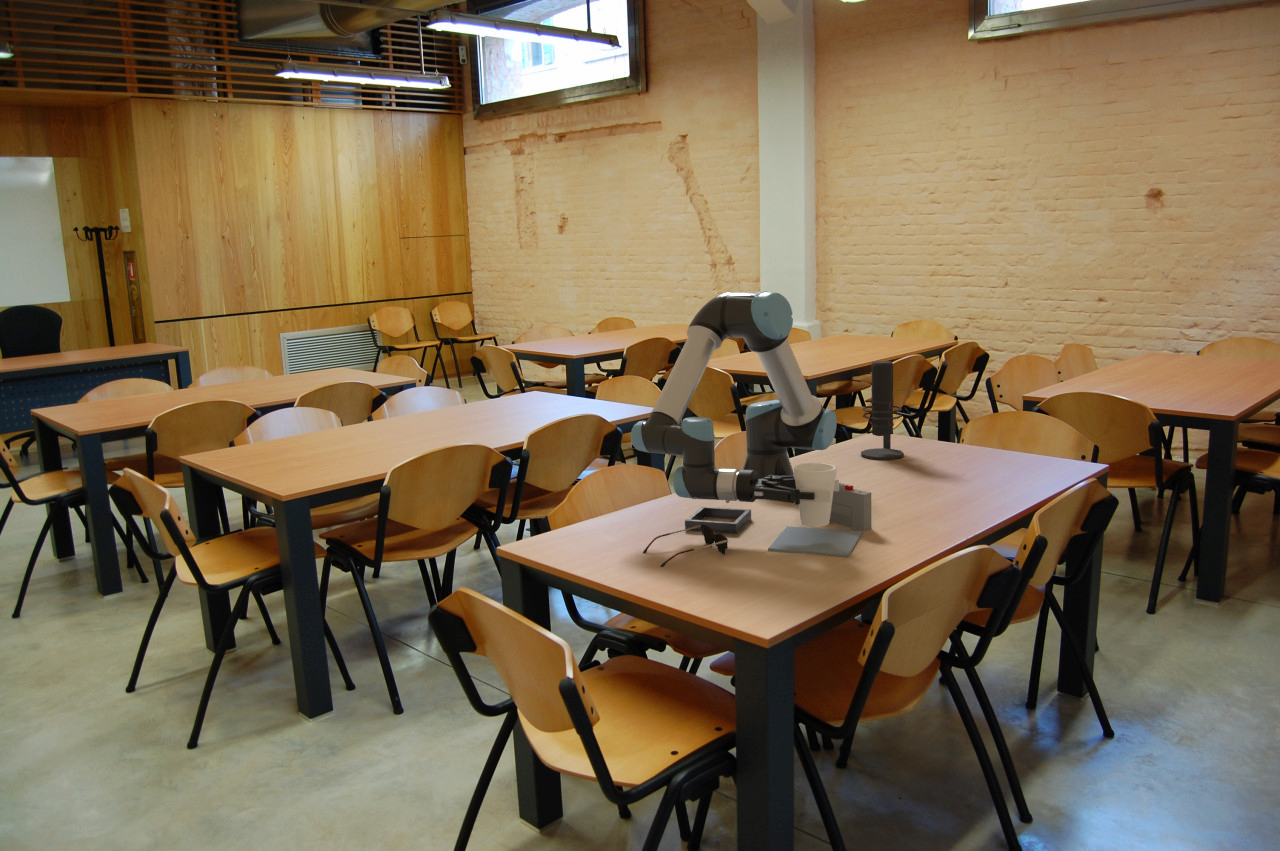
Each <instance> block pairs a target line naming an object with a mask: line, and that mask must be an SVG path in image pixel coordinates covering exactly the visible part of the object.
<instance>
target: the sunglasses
mask: <svg viewBox="0 0 1280 851" xmlns="http://www.w3.org/2000/svg"><path fill="white" fill-rule="evenodd" d="M699 527H701V530H702V531H701V535H702V536H703V538H704V543H705V544H706V545H703V546H698V547H696V548H691V549H686V550H681V551H680V552H677V553H675V554H674V555H673V556H671V557H670V558H668V559H667V560H666V561H664V562H663V563H661V564H660V565H659V567H660V568H663V567H664V566H666V564H667V563H668V562H669V561H671V560H672V559H674V558H676V557H677V556H678V555H681V554H684V553H688V552H689V553H690V552H694V551H697V550H701V549H705V548H708V547H711V548H712V547H713V546H715V547H716V549H717V551H718V552H719V553H720V554H721V555H723V556H726V555H727V549H728V548H729V547H728V543H729V539H728V537H726V536H725V534H723V533H715V532H713V531H712V529H711V528H710V527H709V526H707V525H705V524H700V525H699V526H695V527H692V528H688V529H685V528H684V529H681V530H680V529H679V530H677V531H673V532H668V533H663V534H661V535H657V536H656V537H654V538H653V539H652V540H651V541H650V543H649V544H648V545H647V546H646V548H644V549H643V552H642V554H646V553H647V552H648V549H649V548H650V546H651V545H652V544H653V543H654V542H655V541H656V540H657V539H660V538H663V537H667V536H669V535H674V534H679V533H682V532H686V531H688V530H690V529H695V528H699Z"/></svg>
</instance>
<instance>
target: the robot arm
mask: <svg viewBox="0 0 1280 851" xmlns="http://www.w3.org/2000/svg"><path fill="white" fill-rule="evenodd" d="M792 315H793V309H792V306H791V304H790V302H789V301H788V299H787V297H785V296H784V295H782V294H781V293H779V292H774V291H764V290H763V291H759V292H757V291H749V292H748V291H745V292H743V291H740V292H738V291H737V292H736V291H735V292H734V291H728V292H723V293H721V294H718V295H716V296H715V297H713V298H711V299H710V300H709V301H708V302H707V303H705V305H703V306H702V307H701V308H700V310H699V311H698V312H697V313H696V314H695V316H694V317H693V318H692V320H691V321H690V324H689V326H688V327H687V329H686V335H687V339H686V341H685V342H684V345H683V347H682V349H681V350H680V352H679V355H678V357H677V359H676V361H675V363H674V366H673V368H672V370H671V371H670V373H669V376H668V377H667V380H666V382H665V384H664V386H663V388H662V390H661V392H660V393H659V396H658V399H657V400H656V402H655V404H654V406H653V408H652V410H651V413H650V414H649V417H648V418H647V420H639V421H637V422H636V423H635V424H633V427H632V428H631V432H630V439H631V444H632V445H633V447H634V448H635V449H636V450H637V451H640V452H644V453H648V454H653V453H654V454H663V455H670V456H677V457H679V456H680V457H682V460H683V461H682V466H679V467H677V468H676V469H675V472H674V474H673V483H672V484H673V490H674V493H675V494H676V495H677V497H679V498H685V499H692V500H711V501H712V500H713V501H725V503H730V502H731V501H732V502H737V501H739V502H741V503H743V502H744V503H754V502H755V501H756V500H767V501H774V502H775V501H776V502H781V503H782V502H783V503H788V504H794V505H799V504H800V499H801V501H813V502H829V503H830V490H824V489H806V488H801V492H800V490H798V489H796V483H795V478H794V468H793V467H792V463H791V462H790V458H789V454H788V448H794V449H801V450H807V451H808V450H809V451H824V450H827V449H828V448H829V447H830V446H831V445H832V444H833V441H834V439H835V436H836V433H837V432H836V430H837V423H838V422H837V421H838V420H837V415H836V412H835V411H834V410H833V409H830V408H824V406H823V404H822V402H821V400H820V399H819V398H818V397H817V396H815V395H812V392H811V391H810V388H809V386H808V384H807V381H806V379H805V377H804V374H803V372H802V370H801V368H800V365H799V363H798V359H797V358H796V355H795V353H794V352H793V349H792V346H791V344H790V342H789V340H788V338H789V337H790V334H791V331H792V328H793V325H794V323H793V322H794V317H792ZM729 338H738V339H743V340H744V342H745V344H746V346H747V348H748V349H749V350H750V351H751V352H753V353H756V354H757V356H758V357H759V360H760V362H761V364H762V367H763V369H764V371H765V373H766V375H767V377H768V379H769V383H770V384H771V386H772V388H773V390H774V392H775V394H776V397H777V399H773V400H764V401H758V402H754V403H751V404H749V405H748V406H747V407H746V410H745V420H744V421H745V434H746V435H745V436H746V437H745V438H746V456H745V460H744V463H743V466H742V469H740V470H739V469H738V468H718V467H717V468H716V464H715V461H716V459H715V458H716V457H715V456H716V455H715V454H716V453H715V437H716V435H715V430H714V422H713V420H712V419H711V418H709V417H708V416H707V417H705V416H692V417H691V416H689V417H685V418H683V417H684V414H685V413H686V410H687V409H688V406H689V404H690V402H691V400H692V397H693V396H694V394H695V392H696V389H697V387H698V385H699V383H700V382H701V379H702V378H703V375H704V373H705V371H706V369H707V366H708V364H709V363H710V360H711V357H712V356H713V354H714V351H716V350H718V349H720V348H721V346H722V344H723V342H724V341H725V340H727V339H729ZM682 419H683V420H682ZM680 423H681V424H680ZM839 483H840V479H839V478H835V484H834V491H839Z"/></svg>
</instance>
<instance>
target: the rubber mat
mask: <svg viewBox="0 0 1280 851" xmlns="http://www.w3.org/2000/svg"><path fill="white" fill-rule="evenodd" d="M862 535H863V531H861V530H849V529H833V528H819V527H806V526H805V527H803V526H789V525H788V526H786V527H785V528H784V529H783V531H781V532H780V533H779V535H778V536H777V537H776V539H775V540H774V541H773V542H772V543H771V544H770V545H769V547H768V548H767V551H768V552H778V553H779V552H780V553H781V552H783V553H791V554H792V553H793V554H794V553H795V554H805V555H819V556H831V557H832V556H833V557H843V558H844V557H846V558H849V557H850V555H851V553H852V552H853V550H854V548H855V546H856V545H857V543H858V541H859V540H860V538H861V537H862Z"/></svg>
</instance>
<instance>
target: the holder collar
mask: <svg viewBox="0 0 1280 851" xmlns="http://www.w3.org/2000/svg"><path fill="white" fill-rule="evenodd" d="M704 518H711V519H725V520H727V519H728V520H734V521H733V522H729V521H715V520H704ZM751 520H752V509H747V508H734V507H733V508H730V507H718V506H717V507H716V506H715V507H714V506H700V508H698V509H697V510H695V511H694V512H693V513H692V514H691V515H690V516H688V517H687V518H686V519H684V529H688V528H692V527H695V526H699V525H700V524H705V525H707V526H709V527H710V528H711V529H712V531H713V532H714V533H715V534H717V533H720V534H730V535H731V534H732V535H737V534H738V533H739V532H740V531H741V530H742V529H744V527H745V526H746V525H747V524H748V523H749V522H751ZM687 531H690V532H702V530H701V527H699V528H695V529H690V530H687Z"/></svg>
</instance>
